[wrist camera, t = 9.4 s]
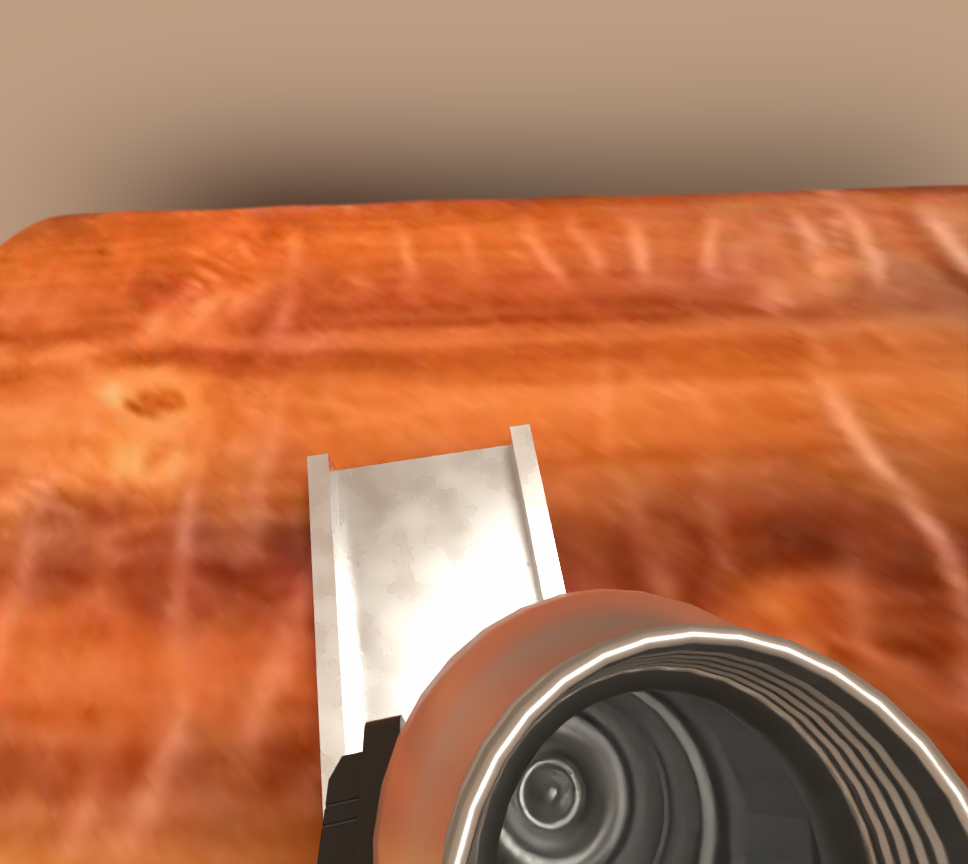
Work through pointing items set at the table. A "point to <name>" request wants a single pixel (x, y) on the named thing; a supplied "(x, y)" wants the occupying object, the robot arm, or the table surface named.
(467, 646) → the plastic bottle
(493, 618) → the aluminium track
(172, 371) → the table surface
